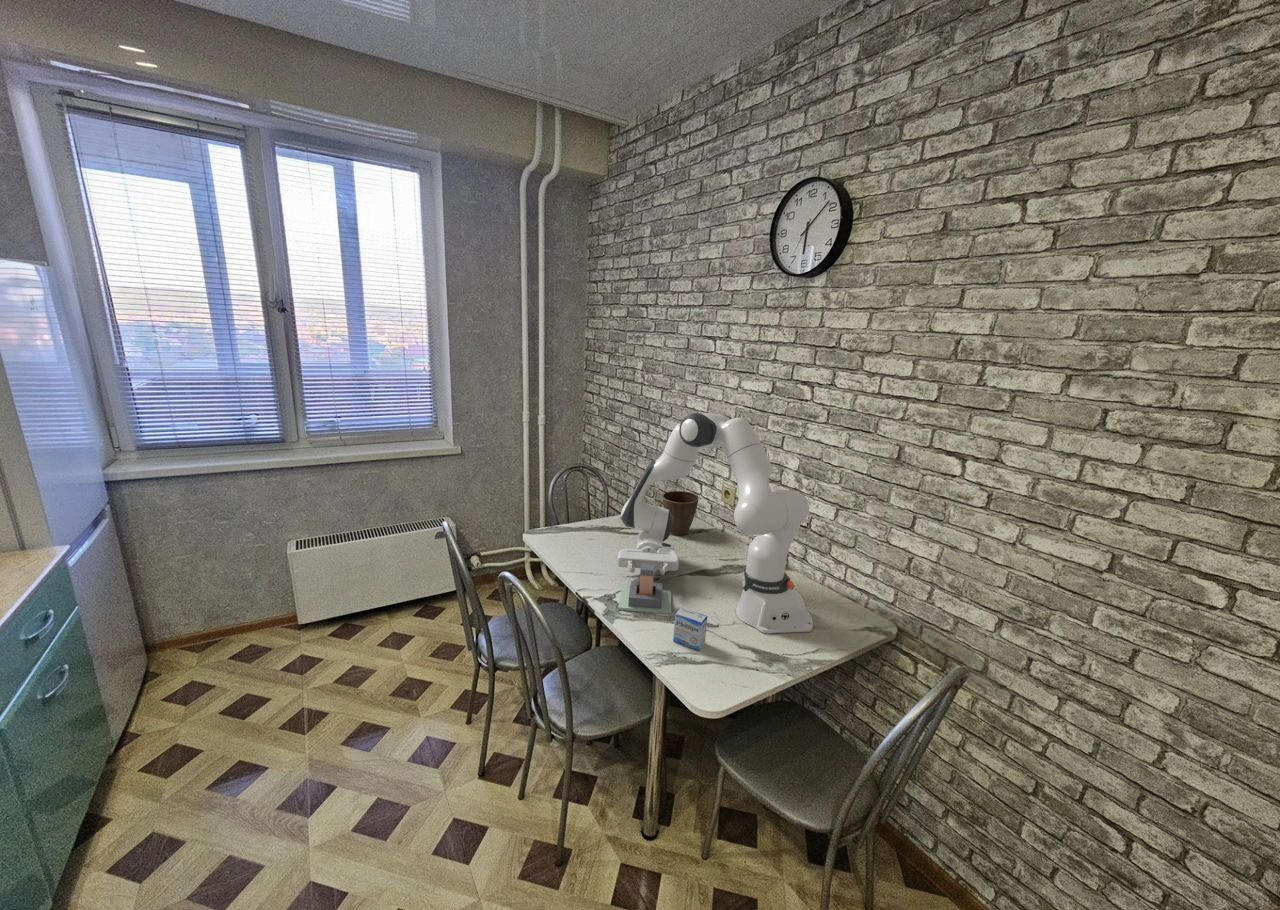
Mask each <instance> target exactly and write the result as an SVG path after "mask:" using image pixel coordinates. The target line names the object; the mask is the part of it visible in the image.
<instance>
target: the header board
mask: <svg viewBox="0 0 1280 910" xmlns="http://www.w3.org/2000/svg"><path fill="white" fill-rule="evenodd" d="M639 589H640V581H637V580H636V581H635V580H631V581H630V587H624V586H622V587H621V591H620V596H619V600H618V605H617V609H618V610H619V611H629V612H630V611H631V612H641V613H642V612H643V613H655V614H657V613H658V614H667V615H668V614H669V615H670V614H672V590H666V589H663V583H661V582H653V590H652V596H648V595H639Z"/></svg>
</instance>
